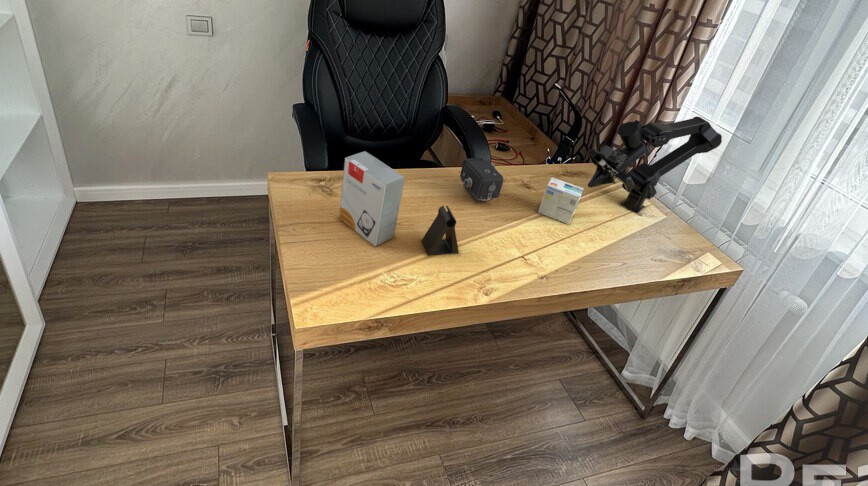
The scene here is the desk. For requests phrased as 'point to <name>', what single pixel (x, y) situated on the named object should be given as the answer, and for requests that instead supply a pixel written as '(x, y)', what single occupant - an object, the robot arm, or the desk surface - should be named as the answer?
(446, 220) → the phone stand
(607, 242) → the desk surface
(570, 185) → the light bulb box
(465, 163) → the camera
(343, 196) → the hard drive box
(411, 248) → the desk surface
